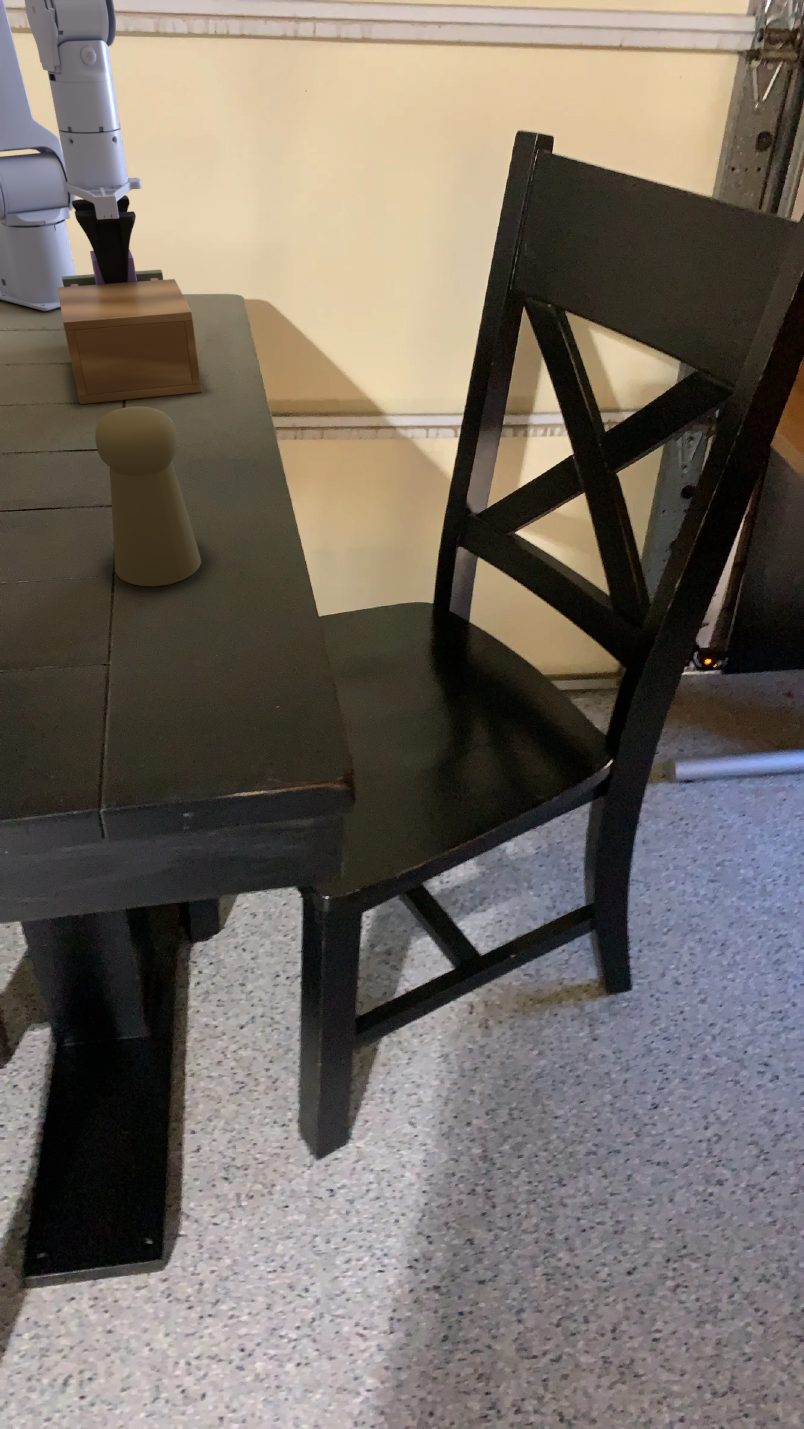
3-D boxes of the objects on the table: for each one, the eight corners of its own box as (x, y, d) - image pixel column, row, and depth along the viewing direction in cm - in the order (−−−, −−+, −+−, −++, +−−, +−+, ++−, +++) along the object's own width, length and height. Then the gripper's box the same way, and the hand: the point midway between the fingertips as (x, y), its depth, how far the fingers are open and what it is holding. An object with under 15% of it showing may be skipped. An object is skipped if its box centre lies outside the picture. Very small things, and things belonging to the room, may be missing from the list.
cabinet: (72, 364, 99) (57, 287, 94) (184, 353, 102) (174, 278, 97) (80, 404, 91) (63, 321, 86) (201, 391, 94) (191, 311, 89)
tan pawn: (106, 553, 69) (75, 403, 62) (188, 536, 71) (167, 390, 64) (125, 593, 65) (93, 438, 58) (211, 575, 67) (191, 422, 60)
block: (97, 291, 101) (89, 250, 98) (135, 288, 102) (129, 248, 99) (100, 302, 98) (92, 260, 95) (139, 299, 99) (133, 257, 96)
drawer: (70, 321, 108) (59, 266, 104) (163, 313, 110) (156, 259, 106) (78, 364, 97) (66, 304, 93) (181, 354, 99) (174, 296, 96)
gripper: (141, 139, 86) (163, 297, 94) (125, 116, 96) (146, 260, 105) (59, 142, 84) (89, 303, 93) (52, 118, 95) (80, 265, 103)
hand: (115, 281), depth 99 cm, fingers closed on block, 4 cm apart
